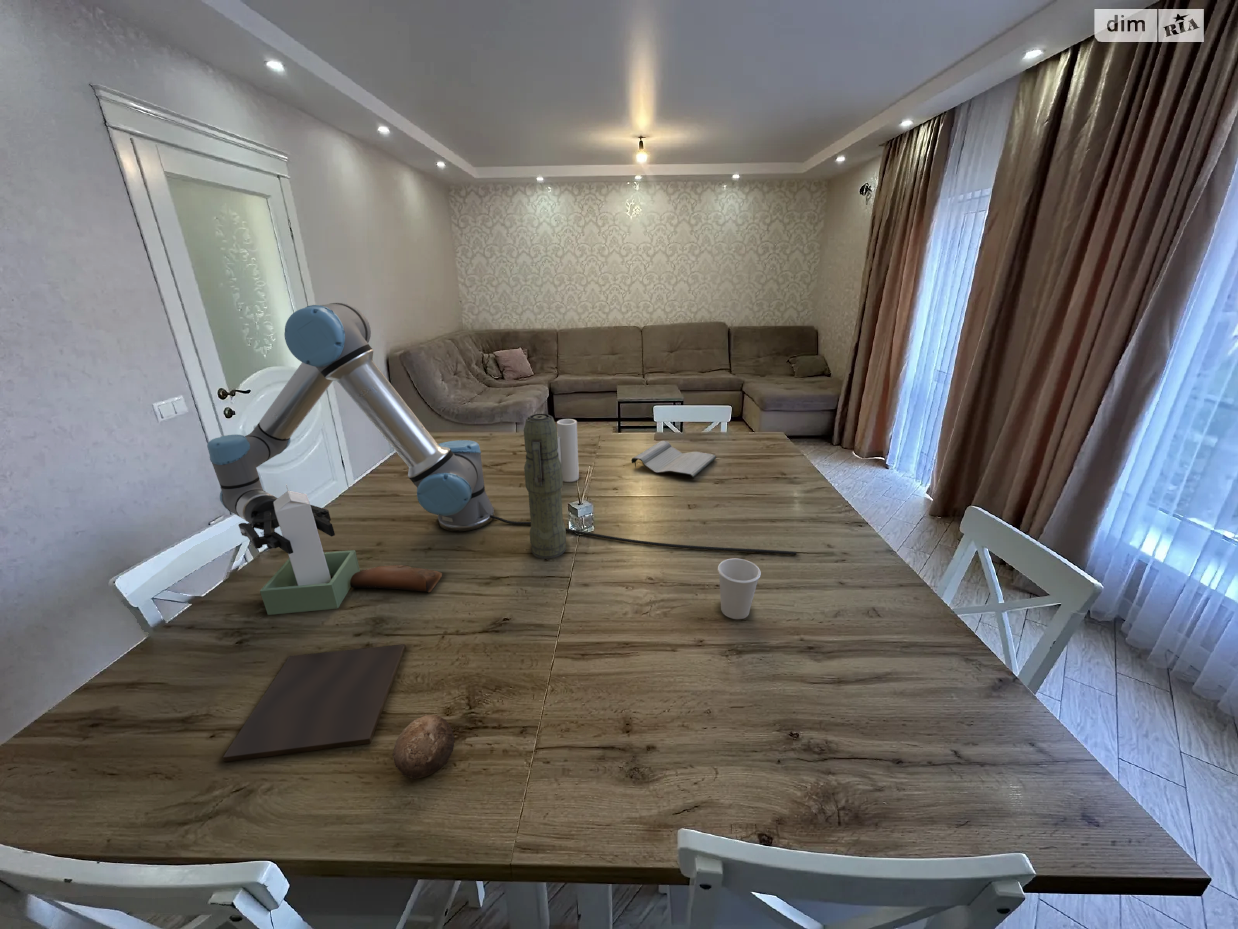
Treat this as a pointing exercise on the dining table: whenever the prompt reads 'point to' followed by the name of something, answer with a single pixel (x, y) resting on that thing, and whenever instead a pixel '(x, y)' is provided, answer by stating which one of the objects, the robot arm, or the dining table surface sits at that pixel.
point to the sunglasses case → (396, 578)
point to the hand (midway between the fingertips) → (311, 538)
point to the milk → (302, 538)
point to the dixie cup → (737, 586)
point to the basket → (310, 586)
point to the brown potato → (423, 746)
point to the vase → (568, 449)
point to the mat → (673, 459)
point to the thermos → (544, 486)
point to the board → (320, 703)
